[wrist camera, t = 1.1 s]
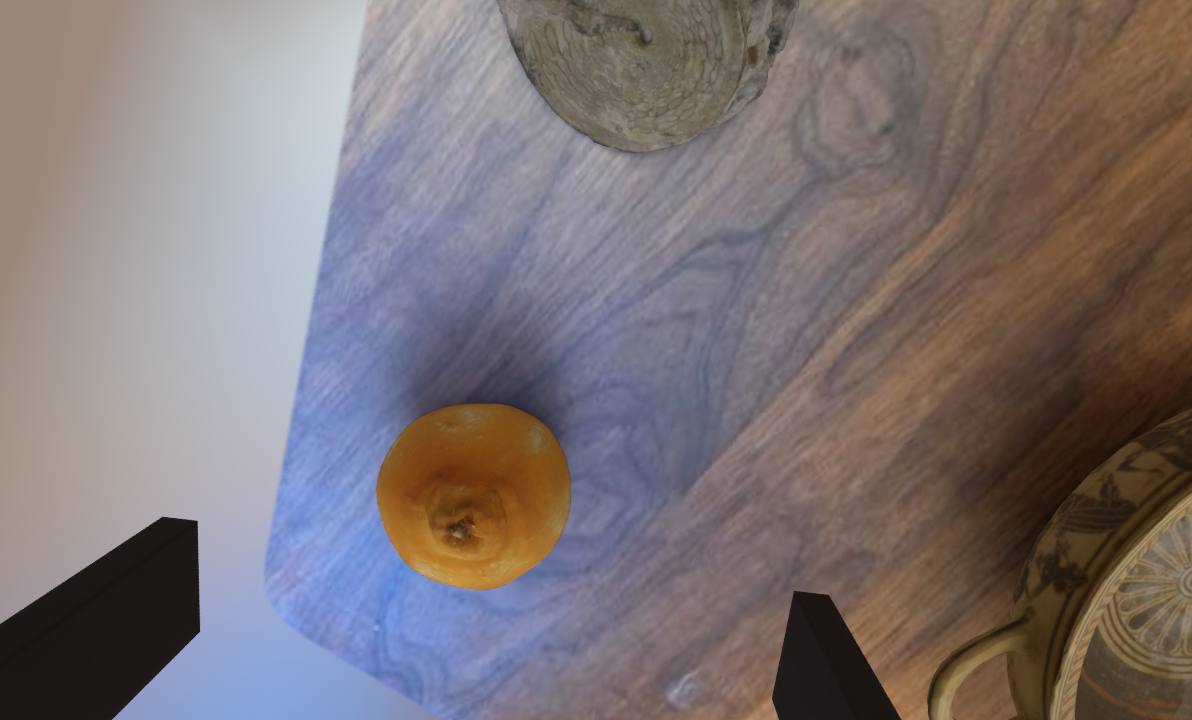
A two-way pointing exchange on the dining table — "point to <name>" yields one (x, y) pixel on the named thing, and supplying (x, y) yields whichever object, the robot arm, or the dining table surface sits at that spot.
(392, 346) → the dining table surface
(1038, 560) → the ceramic bowl
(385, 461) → the fruit
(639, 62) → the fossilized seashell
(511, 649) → the dining table surface
